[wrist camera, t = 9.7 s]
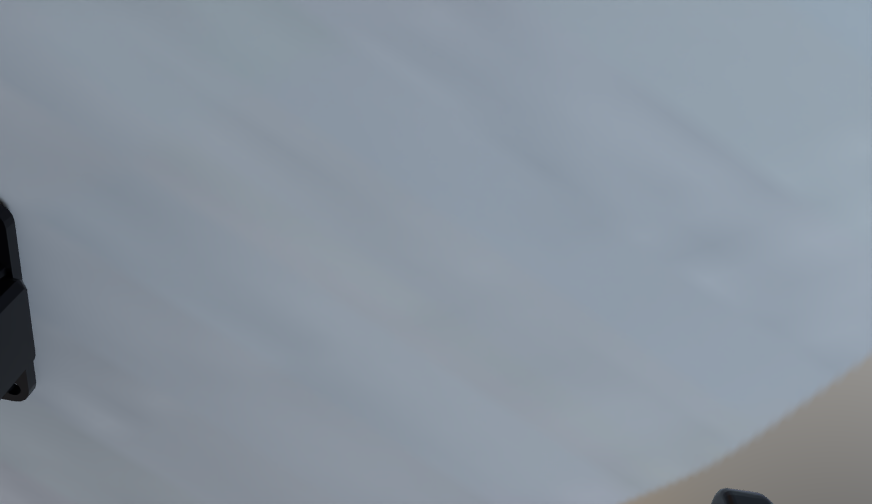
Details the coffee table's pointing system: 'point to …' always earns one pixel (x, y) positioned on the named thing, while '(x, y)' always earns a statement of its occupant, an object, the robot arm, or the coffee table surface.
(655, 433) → the coffee table surface
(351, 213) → the coffee table surface
